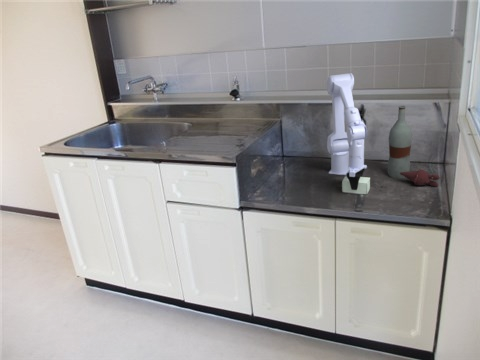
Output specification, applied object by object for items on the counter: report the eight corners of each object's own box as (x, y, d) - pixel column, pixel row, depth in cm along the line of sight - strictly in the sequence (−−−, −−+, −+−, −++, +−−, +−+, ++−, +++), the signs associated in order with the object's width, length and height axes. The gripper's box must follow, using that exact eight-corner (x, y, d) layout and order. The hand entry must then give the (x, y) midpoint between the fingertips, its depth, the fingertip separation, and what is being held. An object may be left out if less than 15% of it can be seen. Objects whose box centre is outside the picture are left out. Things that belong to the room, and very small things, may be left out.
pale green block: (345, 186, 167) (345, 175, 165) (369, 188, 162) (370, 177, 161) (342, 191, 162) (342, 181, 161) (367, 194, 158) (367, 183, 156)
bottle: (413, 178, 168) (418, 107, 156) (391, 180, 168) (394, 110, 156) (405, 169, 176) (409, 102, 165) (384, 171, 177) (386, 105, 165)
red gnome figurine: (397, 171, 160) (437, 180, 152) (403, 161, 165) (442, 169, 156) (396, 184, 164) (435, 194, 156) (402, 174, 169) (440, 182, 161)
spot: (349, 186, 167) (349, 185, 167) (366, 187, 164) (366, 187, 164) (345, 193, 161) (345, 192, 161) (362, 195, 158) (363, 194, 158)
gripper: (362, 162, 149) (362, 195, 154) (370, 149, 160) (369, 180, 166) (343, 160, 152) (344, 192, 157) (352, 148, 164) (352, 178, 169)
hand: (356, 186), depth 162 cm, fingers closed on pale green block, 6 cm apart
